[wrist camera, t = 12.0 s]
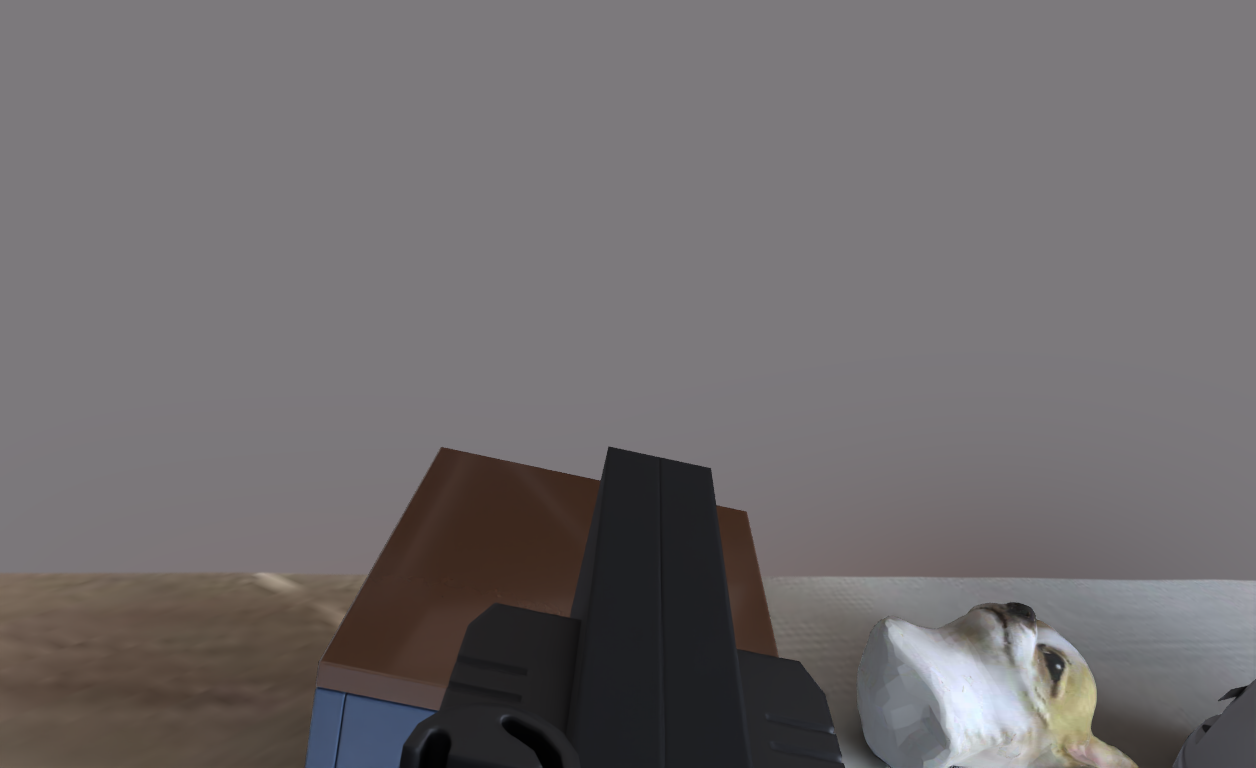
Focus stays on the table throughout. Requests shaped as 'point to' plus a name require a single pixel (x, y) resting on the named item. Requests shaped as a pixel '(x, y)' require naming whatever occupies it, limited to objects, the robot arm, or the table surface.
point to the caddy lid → (490, 574)
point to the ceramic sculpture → (980, 695)
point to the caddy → (359, 730)
